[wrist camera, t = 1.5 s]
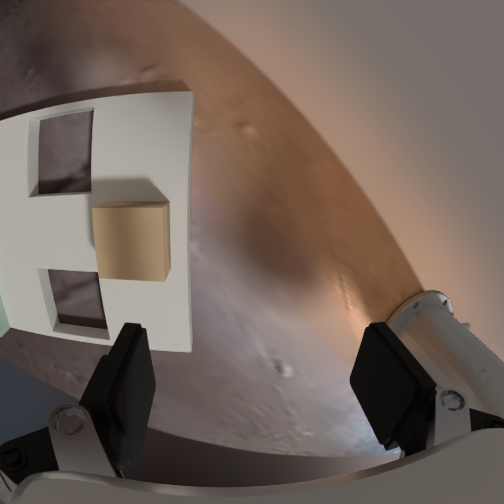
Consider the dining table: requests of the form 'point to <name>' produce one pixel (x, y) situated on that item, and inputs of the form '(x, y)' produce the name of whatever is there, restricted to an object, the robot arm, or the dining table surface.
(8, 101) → the dining table surface
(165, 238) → the block
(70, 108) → the board
